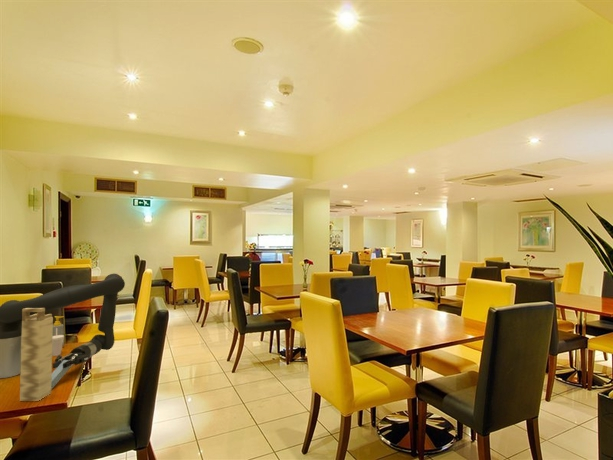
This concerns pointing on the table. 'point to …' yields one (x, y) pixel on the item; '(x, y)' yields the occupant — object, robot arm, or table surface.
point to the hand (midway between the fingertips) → (58, 366)
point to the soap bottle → (58, 328)
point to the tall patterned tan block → (36, 354)
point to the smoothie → (57, 344)
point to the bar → (58, 373)
